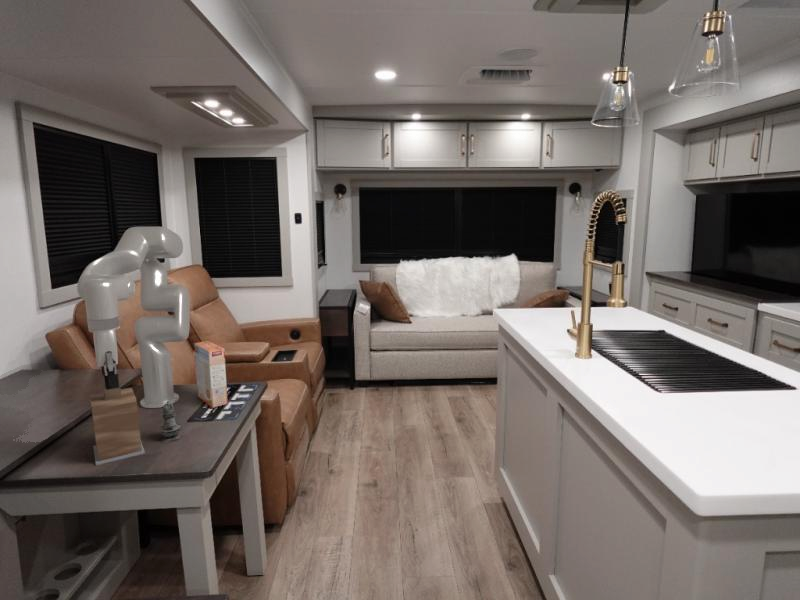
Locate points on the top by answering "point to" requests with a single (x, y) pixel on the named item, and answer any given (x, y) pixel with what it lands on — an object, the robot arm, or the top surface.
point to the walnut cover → (115, 422)
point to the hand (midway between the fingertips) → (110, 383)
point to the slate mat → (115, 457)
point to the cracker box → (211, 373)
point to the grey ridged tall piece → (169, 424)
